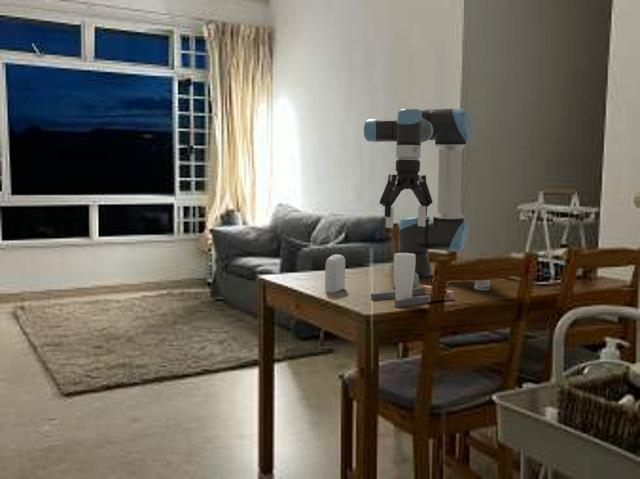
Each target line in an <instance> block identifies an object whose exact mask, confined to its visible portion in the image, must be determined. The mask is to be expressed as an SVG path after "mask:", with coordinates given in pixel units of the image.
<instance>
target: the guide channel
mask: <svg viewBox="0 0 640 479" xmlns="http://www.w3.org/2000/svg"><path fill="white" fill-rule="evenodd" d="M431 287H432V286H431V285H426V284H425V285H421V287H416V288H413V291H412V298H405V299H398V300H396V299H395V290H389V291H381V292H372V293H371V294H370V295H371V296H370V299H371V300H372V301H378V300H379V301H380V300H387V299H388V300H389V299H395V300H394V307H396V308H402V307H408V306H417V305H423V304H429V303H428V301H429V297H430V295H429V293H430V290H431ZM446 290H447V294H446V299H447V300H446V301H452V300H454V298H455V296H454V295H455V291H453V290H449V289H446ZM417 295H418V296H417ZM419 295H420V296H419Z"/></svg>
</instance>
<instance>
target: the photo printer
mask: <svg viewBox="0 0 640 479" xmlns="http://www.w3.org/2000/svg"><path fill="white" fill-rule="evenodd" d="M324 270H325V273H324V274H325V275H324V276H325V277H324V278H325V279H324V280H325V281H324V283H325V284H324V290H325V292H326V293H328V292H329V294H330V293H331V294H334V293H337V292H338V291H339V292H340V291H341V290H343V289H345V286H346V259H345V256H343V255H342V254H332V255H331V256H329V257H328V258H327V259H326V262H325V269H324Z"/></svg>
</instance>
